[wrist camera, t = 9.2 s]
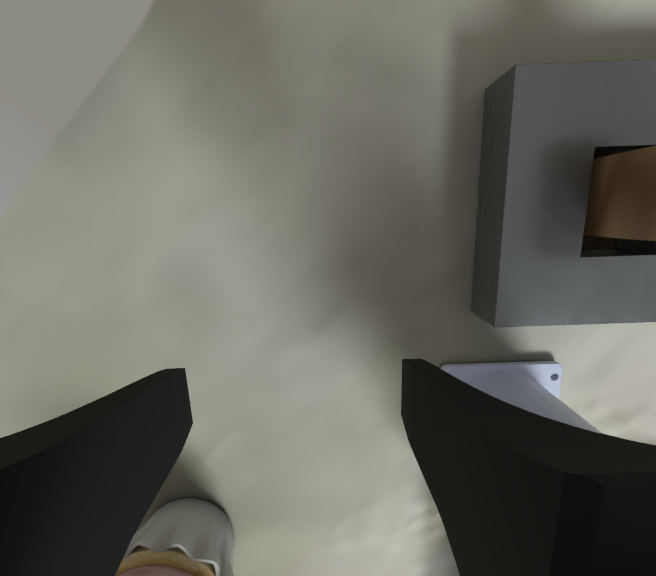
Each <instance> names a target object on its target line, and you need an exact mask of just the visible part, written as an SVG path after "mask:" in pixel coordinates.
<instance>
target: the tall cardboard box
mask: <svg viewBox="0 0 656 576" xmlns="http://www.w3.org/2000/svg"><path fill="white" fill-rule="evenodd" d="M583 236H596V237H609V238H622V239H635V240H648V241H656V146H652V147H647V148H642V149H637V150H633V151H628V152H623V153H619V154H614V155H609V156H605V157H600V158H595V159H593V166H592V173H591V181H590V188H589V196H588V203H587V211H586V218H585V226H584V233H583Z"/></svg>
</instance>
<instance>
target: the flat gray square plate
mask: <svg viewBox="0 0 656 576" xmlns="http://www.w3.org/2000/svg"><path fill="white" fill-rule="evenodd" d="M652 146H656V60H631V61H603V62H575V63H547V64H519V65H515V66H514V67H512V68H511V69H510V70H509V71H507V72H506V73H505V74H504V75H502V76H501V77H500V78H499V79H497V80H496V81H495V82H494V83H492V84H491V85H490V86H489V87H487V88H486V89H485V104H484V120H483V136H482V151H481V167H480V182H479V198H478V214H477V229H476V245H475V260H474V276H473V292H472V307H471V312H472V313H474V314H475V315H477V316H478V317H480V318H481V319H483V320H484V321H486V322H487V323H489V324H491V325H492V326H494V327H517V326H547V325H577V324H607V323H637V322H656V241H648V240H635V239H622V238H618V239H617V245H616V249H603V250H581V248H582V240H583V233H584V226H585V218H586V211H587V203H588V196H589V188H590V181H591V173H592V166H593V159H594V156H609V155H614V154H619V153H623V152H628V151H633V150H637V149H642V148H647V147H652Z"/></svg>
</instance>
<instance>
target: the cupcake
mask: <svg viewBox="0 0 656 576" xmlns="http://www.w3.org/2000/svg"><path fill="white" fill-rule="evenodd" d="M233 553H234V533H233V529H232V525H231V522H230V520H229V518H228V516H227V515H226V514H225V513H224V512H223V511H222V510H221V509H220V508H218V507H217V506H215V505H214V504H212V503H210V502H207V501H204V500H201V499H196V498H183V499H178V500H174V501H171V502H169V503H167V504H166V505H164V506H163V507H161V508H160V509H158V510H157V511H156V512H155V513H154V514H153V516H152V517H151V518H150V519H149V520H148V521H147V522H146V523H145V524H144V525H143V527H142V528H141V529H140V530H139V531H138V532H137V533H136V534H135V535H134V536H133V538H132V540H131V542H130V544H129V546H128V549H127V551H126V553H125V555H124V557H123V559H122V562H121V564H120V566H119V568H118V570H117V572H116V575H115V576H234V575H233V571H232V568H233Z"/></svg>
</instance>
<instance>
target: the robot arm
mask: <svg viewBox="0 0 656 576" xmlns="http://www.w3.org/2000/svg"><path fill="white" fill-rule="evenodd" d="M562 370H563V369H562V366H561V364H559V363H558V362H556V361H532V362H502V363H472V364H446V365H443V366H442V367H441V368H438V367H437V366H435V365H433V364H431V363H429V362H427V361H425V360H423V359H402V402H401V415H402V419H403V422H404V426H405V430H406V433H407V437H408V440H409V443H410V445H411V448H412V450H413V453H414V455H415V457H416V460H417V462H418V464H419V467H420V469H421V471H422V474H423V476H424V478H425V481H426V483H427V485H428V487H429V490H430V492H431V494H432V497H433V499H434V501H435V504H436V506H437V508H438V511H439V514H440V516H441V519H442V521H443V524H444V527H445V530H446V533H447V536H448V539H449V542H450V546H451V549H452V552H453V555H454V558H455V561H456V564H457V567H458V571H459V574H460V576H656V445H650V444H645V443H640V442H635V441H630V440H626V439H622V438H618V437H614V436H609V435H605V434H602V433H601V432H600V431H598V430H597V429H596V428H595V427H593V426H592V425H591V424H590V423H588V422H587V421H586V420H585V419H583V418H582V417H581V416H579V415H578V414H577V413H576V412H574V411H573V410H572V409H571V408H569V407H568V406H567V405H565V404H564V403H563V402H562V401H560V400H559V393H560V385H561V378H562ZM552 374H554V376H553V377H552V378H551V375H552ZM192 424H193V420H192V414H191V407H190V400H189V393H188V386H187V379H186V372H185V368H176V369H164V370H161V371H158V372H156V373H153V374H151V375H149V376H147V377H144V378H142V379H140V380H138V381H136V382H134V383H132V384H130V385H127V386H125V387H123V388H121V389H119V390H117V391H115V392H113V393H111V394H109V395H107V396H104V397H102V398H100V399H98V400H96V401H93V402H91V403H89V404H87V405H84V406H82V407H80V408H78V409H76V410H73V411H71V412H69V413H66V414H64V415H62V416H59V417H57V418H54V419H52V420H49V421H47V422H44V423H42V424H39V425H36V426H34V427H31V428H28V429H26V430H23V431H20V432H17V433H15V434H12V435H9V436H6V437H2V438H0V576H115V575H116V572H117V570H118V568H119V566H120V564H121V562H122V559H123V557H124V555H125V553H126V551H127V549H128V546H129V544H130V542H131V540H132V538H133V536H134V534H135V532H136V530H137V529H138V527H139V525H140V523H141V521H142V519H143V518H144V516H145V514H146V512H147V511H148V509H149V507H150V506H151V504H152V502H153V500H154V499H155V497H156V495H157V493H158V492H159V490H160V488H161V487H162V485H163V483H164V481H165V480H166V478H167V476H168V474H169V473H170V471H171V469H172V467H173V466H174V464H175V462H176V460H177V459H178V457H179V455H180V453H181V451H182V449H183V446H184V444H185V442H186V439H187V437H188V434H189V432H190V429H191V427H192Z"/></svg>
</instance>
